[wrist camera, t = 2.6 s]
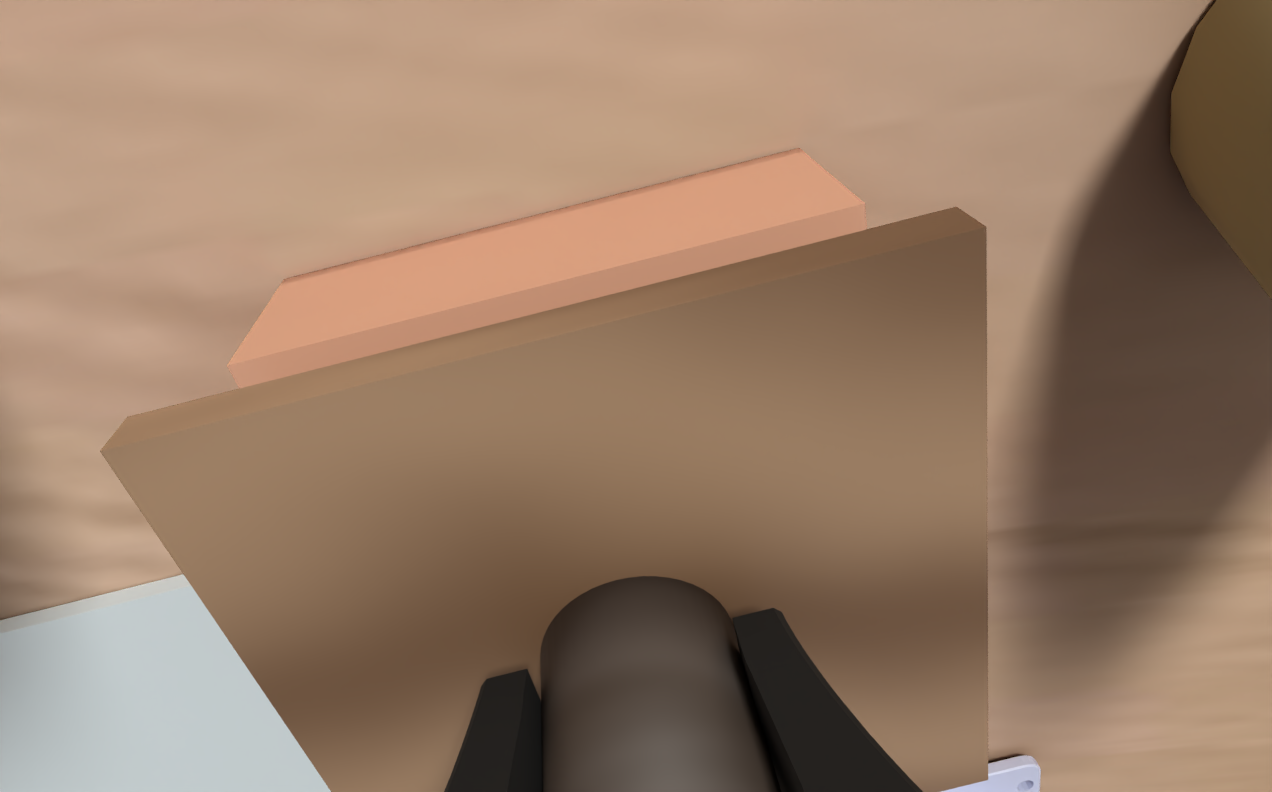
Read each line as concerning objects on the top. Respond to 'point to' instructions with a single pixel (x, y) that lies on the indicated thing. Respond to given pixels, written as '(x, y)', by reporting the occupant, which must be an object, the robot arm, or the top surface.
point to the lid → (613, 521)
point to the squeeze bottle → (1229, 127)
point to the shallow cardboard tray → (545, 263)
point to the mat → (138, 702)
